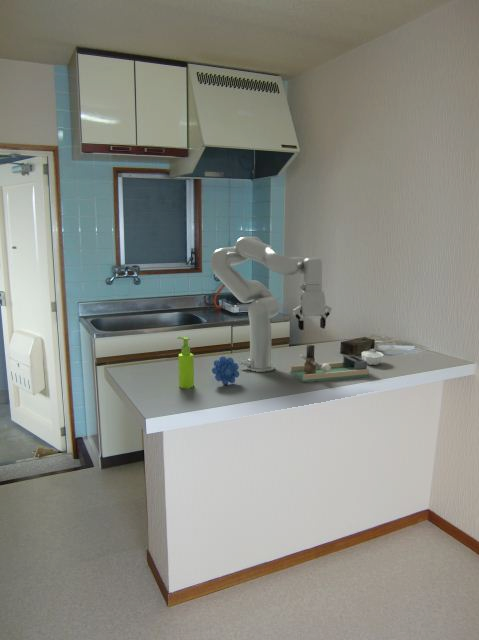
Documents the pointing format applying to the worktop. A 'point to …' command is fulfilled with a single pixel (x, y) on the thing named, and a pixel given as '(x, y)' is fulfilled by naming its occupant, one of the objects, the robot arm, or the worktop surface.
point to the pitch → (328, 373)
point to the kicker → (310, 361)
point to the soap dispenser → (186, 365)
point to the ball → (326, 368)
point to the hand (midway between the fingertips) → (311, 328)
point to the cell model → (372, 356)
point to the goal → (354, 362)
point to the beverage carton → (356, 346)
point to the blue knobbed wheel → (225, 370)
